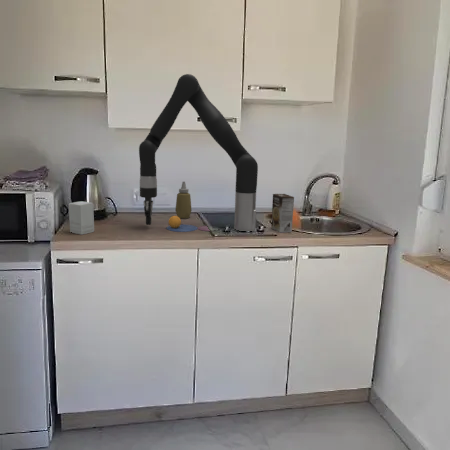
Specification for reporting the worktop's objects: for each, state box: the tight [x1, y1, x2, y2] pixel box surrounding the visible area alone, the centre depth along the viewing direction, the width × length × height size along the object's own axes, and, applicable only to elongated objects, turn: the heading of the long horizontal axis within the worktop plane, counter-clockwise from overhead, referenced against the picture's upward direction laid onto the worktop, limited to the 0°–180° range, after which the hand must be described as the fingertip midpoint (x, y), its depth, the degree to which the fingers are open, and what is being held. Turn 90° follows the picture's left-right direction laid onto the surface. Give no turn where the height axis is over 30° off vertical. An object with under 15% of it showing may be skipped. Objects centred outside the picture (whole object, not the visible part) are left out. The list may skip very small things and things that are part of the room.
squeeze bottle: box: [175, 181, 192, 219], centre depth 235 cm, size 8×8×18 cm
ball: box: [168, 215, 182, 228], centre depth 213 cm, size 6×6×6 cm
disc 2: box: [197, 225, 211, 232], centre depth 214 cm, size 10×10×1 cm
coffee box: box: [270, 193, 295, 233], centre depth 214 cm, size 9×6×16 cm
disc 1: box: [166, 223, 199, 233], centre depth 213 cm, size 14×14×1 cm
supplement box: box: [68, 200, 95, 235], centre depth 200 cm, size 7×7×13 cm
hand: (148, 224), depth 212 cm, fingers closed
